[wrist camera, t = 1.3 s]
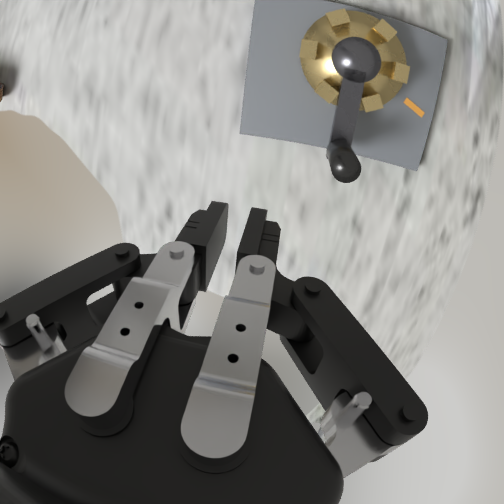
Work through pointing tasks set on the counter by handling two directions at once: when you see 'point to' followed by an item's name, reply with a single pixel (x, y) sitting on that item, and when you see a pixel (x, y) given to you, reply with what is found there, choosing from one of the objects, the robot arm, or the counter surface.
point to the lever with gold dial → (352, 75)
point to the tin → (1, 91)
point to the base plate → (321, 112)
